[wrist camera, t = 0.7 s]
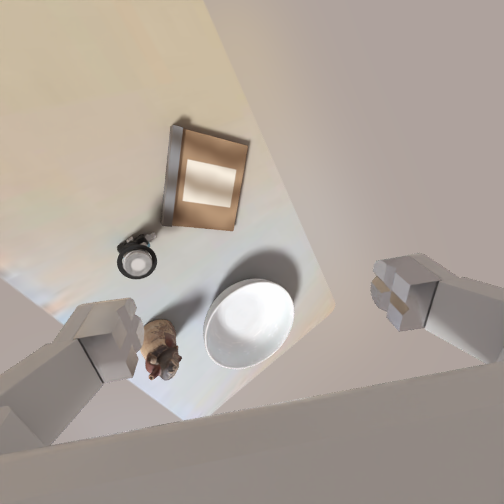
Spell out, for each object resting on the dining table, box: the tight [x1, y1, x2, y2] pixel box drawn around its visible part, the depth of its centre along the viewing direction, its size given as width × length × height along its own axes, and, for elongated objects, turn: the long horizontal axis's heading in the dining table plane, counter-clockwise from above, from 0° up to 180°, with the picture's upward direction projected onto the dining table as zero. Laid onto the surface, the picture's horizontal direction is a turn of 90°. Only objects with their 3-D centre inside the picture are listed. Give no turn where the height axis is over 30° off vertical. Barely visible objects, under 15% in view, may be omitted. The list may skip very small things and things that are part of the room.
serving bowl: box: [203, 279, 294, 369], centre depth 58 cm, size 21×21×7 cm
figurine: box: [140, 319, 182, 380], centre depth 48 cm, size 7×7×12 cm
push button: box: [117, 232, 157, 279], centre depth 42 cm, size 7×5×10 cm
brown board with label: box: [161, 125, 248, 231], centre depth 47 cm, size 16×14×2 cm
